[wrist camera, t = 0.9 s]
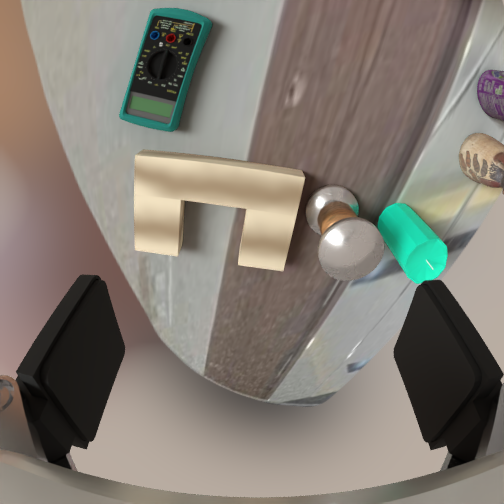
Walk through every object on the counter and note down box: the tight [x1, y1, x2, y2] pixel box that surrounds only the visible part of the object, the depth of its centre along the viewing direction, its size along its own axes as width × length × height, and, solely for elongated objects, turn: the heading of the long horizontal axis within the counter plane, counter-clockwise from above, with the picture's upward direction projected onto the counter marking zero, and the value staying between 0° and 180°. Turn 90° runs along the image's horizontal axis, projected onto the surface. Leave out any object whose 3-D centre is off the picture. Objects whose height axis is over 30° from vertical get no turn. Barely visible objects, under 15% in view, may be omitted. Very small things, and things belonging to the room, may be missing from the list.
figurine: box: [459, 133, 504, 194], centre depth 31 cm, size 7×7×12 cm
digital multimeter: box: [119, 8, 212, 132], centre depth 31 cm, size 7×15×3 cm, turn 161°
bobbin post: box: [305, 185, 384, 281], centre depth 37 cm, size 7×7×11 cm
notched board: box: [134, 150, 305, 271], centre depth 40 cm, size 13×20×3 cm, turn 81°
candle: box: [377, 203, 448, 284], centre depth 37 cm, size 6×6×12 cm
